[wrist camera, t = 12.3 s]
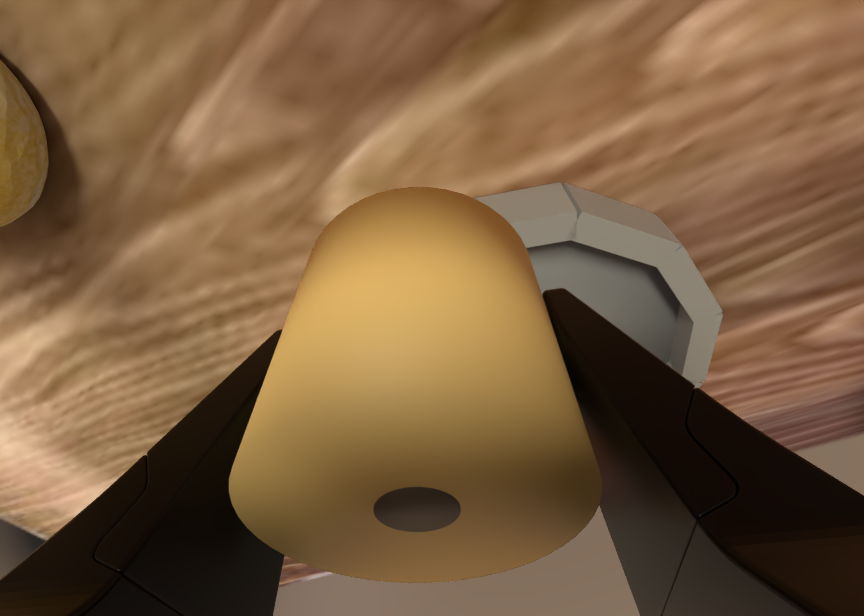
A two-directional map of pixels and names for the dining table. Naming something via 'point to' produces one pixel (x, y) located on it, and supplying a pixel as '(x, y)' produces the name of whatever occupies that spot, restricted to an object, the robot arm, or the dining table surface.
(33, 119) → the bread roll
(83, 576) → the robot arm
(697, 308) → the round tray
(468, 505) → the ochre bead
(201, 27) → the dining table surface
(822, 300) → the dining table surface
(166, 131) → the dining table surface
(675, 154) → the dining table surface
